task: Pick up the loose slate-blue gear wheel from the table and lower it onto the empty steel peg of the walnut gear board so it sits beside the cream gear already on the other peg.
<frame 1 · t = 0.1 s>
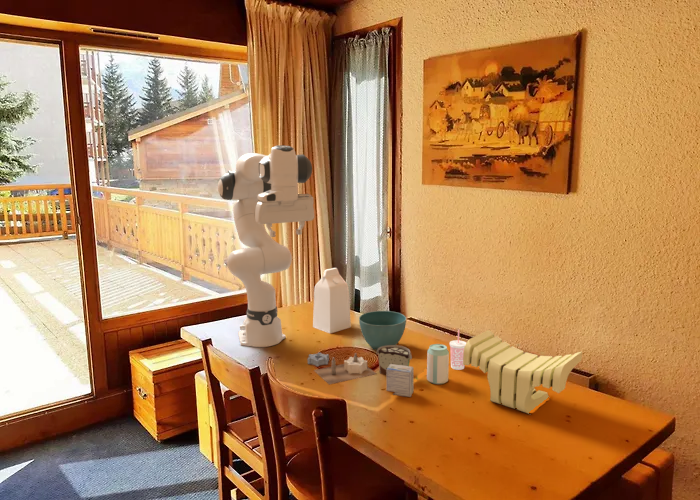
hand: (286, 235, 185), 48 cm above the table, tool pointing down, fingers open, 8 cm apart
beverage cup: (457, 367, 193), on the table
cream gear: (355, 369, 189), point 1 cm above the table, touching gear board
slatted curved stool: (518, 402, 167), on the table
milk: (331, 327, 237), on the table
can: (437, 381, 182), on the table
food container: (396, 376, 186), on the table
blue gear: (318, 365, 196), on the table
teal bowl: (382, 348, 212), on the table
gear board: (344, 375, 187), on the table
medicine box: (399, 393, 173), on the table
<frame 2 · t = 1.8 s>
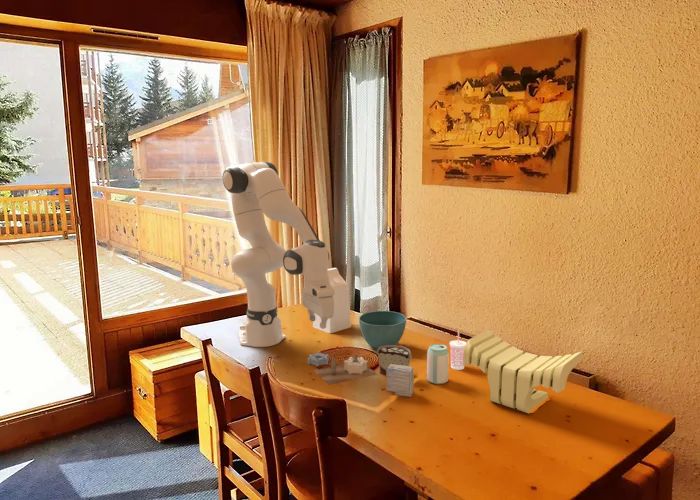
hand: (317, 324, 193), 15 cm above the table, tool pointing down, fingers open, 8 cm apart
nothing on the table moved.
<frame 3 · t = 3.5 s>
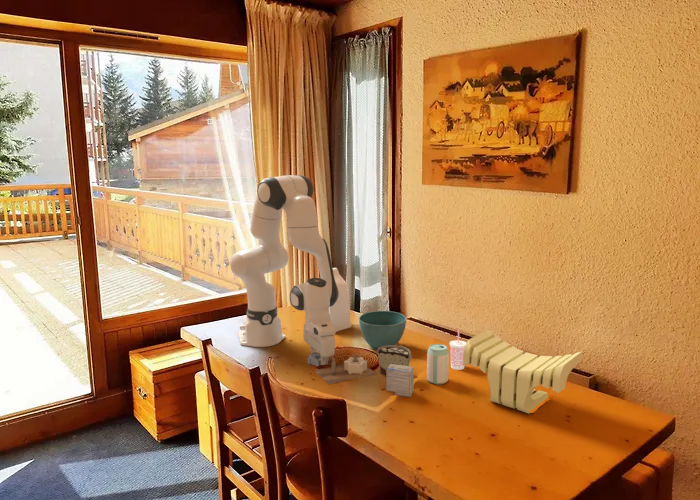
hand: (318, 360, 196), 2 cm above the table, tool pointing down, fingers closed on blue gear, 6 cm apart
blue gear: (318, 365, 196), on the table, touching gripper
everything else where it was.
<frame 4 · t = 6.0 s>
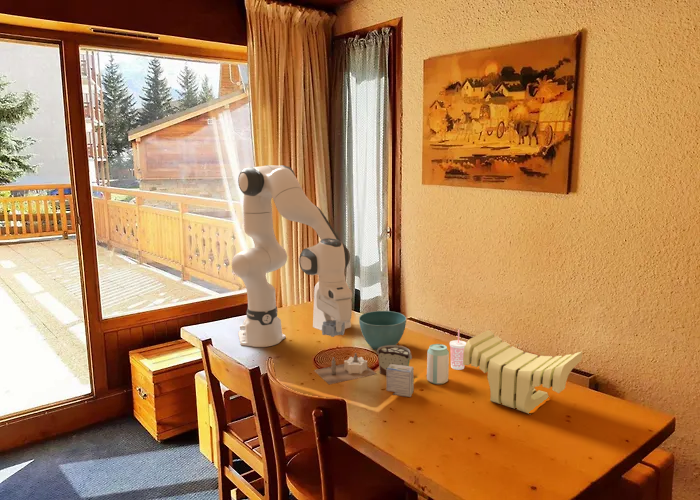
hand: (333, 328, 182), 18 cm above the table, tool pointing down, fingers closed on blue gear, 6 cm apart
blue gear: (333, 332, 182), point 16 cm above the table, touching gripper
everything else where it was.
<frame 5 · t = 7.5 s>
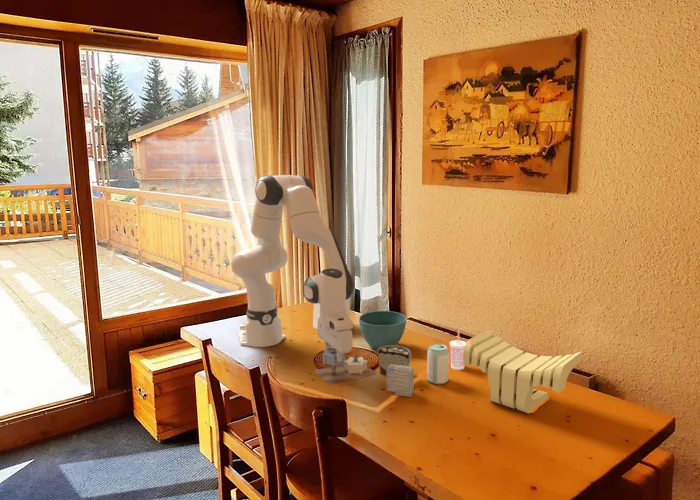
hand: (334, 357, 184), 7 cm above the table, tool pointing down, fingers closed on blue gear, 6 cm apart
blue gear: (334, 361, 184), point 6 cm above the table, touching gripper
everything else where it was.
when the fingers open (4 cm above the table, at t = 8.7 s): blue gear drops 1 cm, resting on gear board.
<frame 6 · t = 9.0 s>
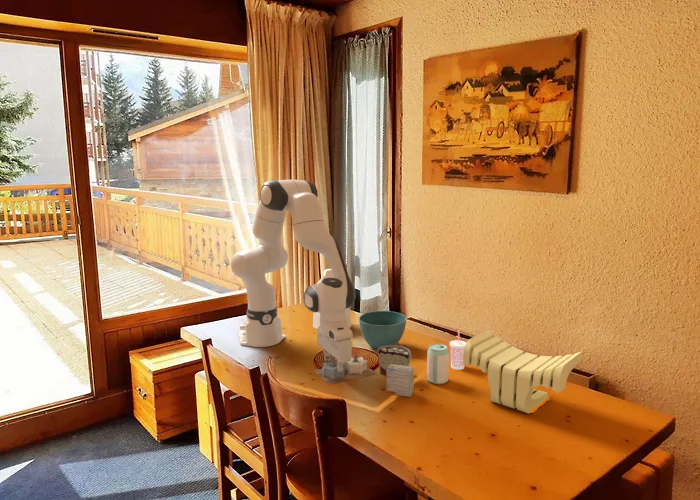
hand: (333, 365, 184), 4 cm above the table, tool pointing down, fingers open, 8 cm apart
blue gear: (333, 374, 185), point 1 cm above the table, touching gear board
everything else where it was.
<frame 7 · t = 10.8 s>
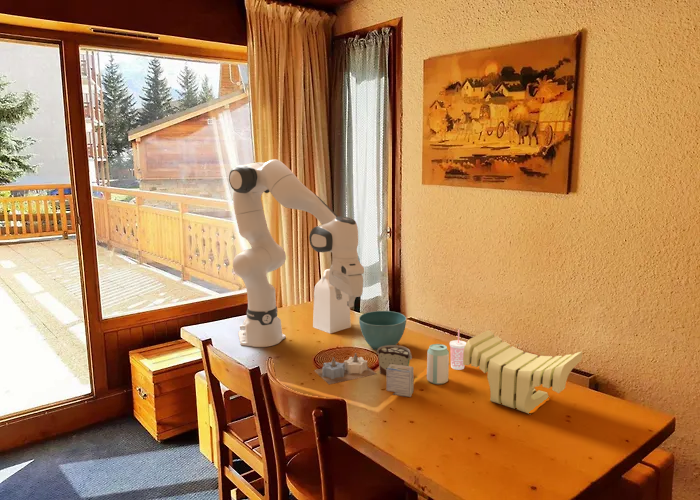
hand: (344, 302, 190), 24 cm above the table, tool pointing down, fingers open, 8 cm apart
nothing on the table moved.
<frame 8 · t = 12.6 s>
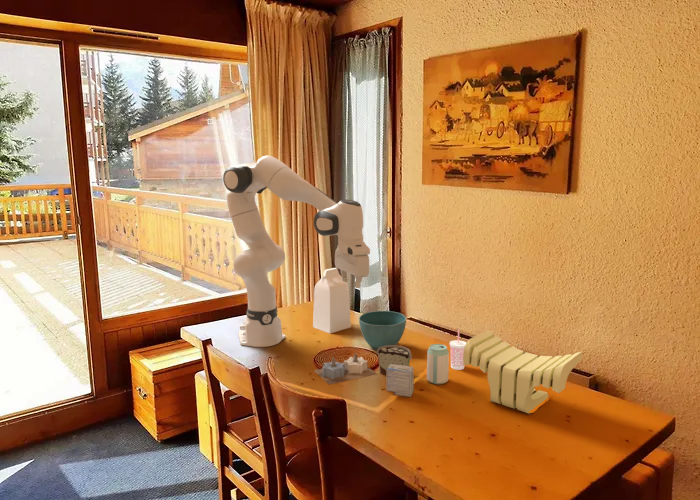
hand: (351, 284, 193), 29 cm above the table, tool pointing down, fingers open, 8 cm apart
nothing on the table moved.
at the end: blue gear 0.1 cm from the target spot, point 1.2 cm above the table; blue gear tilted 0°; the gripper is holding nothing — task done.
